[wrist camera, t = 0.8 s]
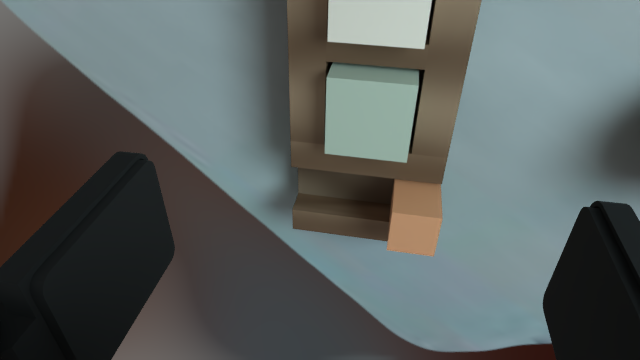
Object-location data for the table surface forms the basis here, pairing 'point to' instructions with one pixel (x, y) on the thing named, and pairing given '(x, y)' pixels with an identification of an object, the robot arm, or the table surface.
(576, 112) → the table surface
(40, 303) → the robot arm
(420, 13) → the button
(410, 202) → the slider
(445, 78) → the brown wooden tray
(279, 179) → the table surface
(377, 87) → the button
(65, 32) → the table surface
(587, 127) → the table surface
